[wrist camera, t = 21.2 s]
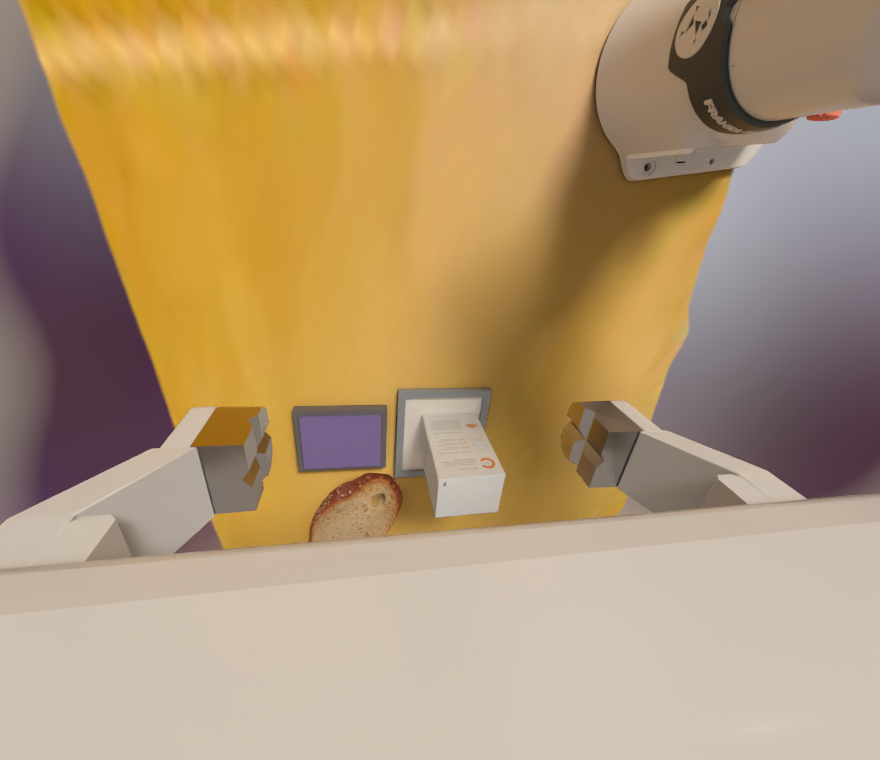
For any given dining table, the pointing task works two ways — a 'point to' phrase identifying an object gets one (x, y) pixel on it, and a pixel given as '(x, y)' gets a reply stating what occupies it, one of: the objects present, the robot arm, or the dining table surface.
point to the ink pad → (340, 437)
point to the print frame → (430, 403)
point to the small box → (460, 465)
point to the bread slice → (358, 509)
